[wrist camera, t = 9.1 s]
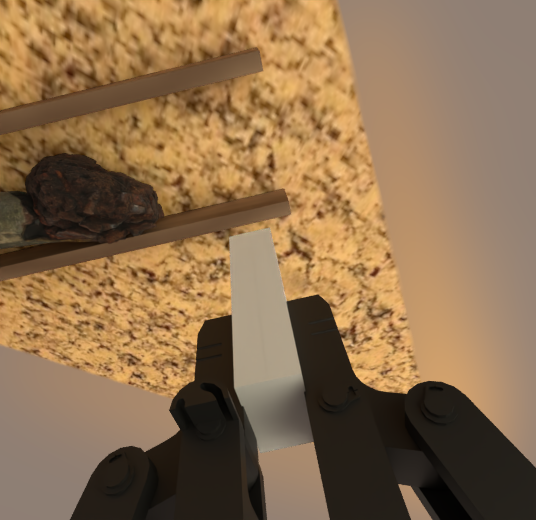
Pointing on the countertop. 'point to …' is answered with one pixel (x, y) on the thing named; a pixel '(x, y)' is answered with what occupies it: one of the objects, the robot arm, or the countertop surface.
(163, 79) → the channel rails
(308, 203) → the countertop surface
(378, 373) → the countertop surface
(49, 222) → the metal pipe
